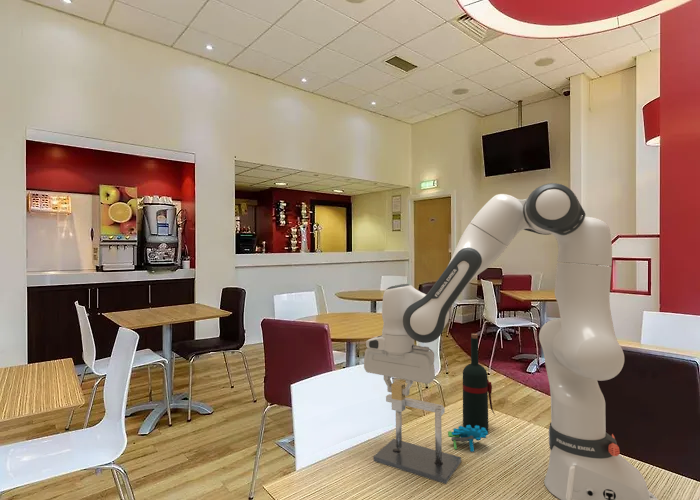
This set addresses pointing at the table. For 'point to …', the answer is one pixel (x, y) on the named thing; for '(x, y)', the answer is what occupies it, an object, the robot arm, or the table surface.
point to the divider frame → (439, 412)
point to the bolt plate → (418, 461)
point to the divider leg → (398, 409)
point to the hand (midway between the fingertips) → (398, 393)
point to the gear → (467, 435)
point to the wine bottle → (476, 391)
